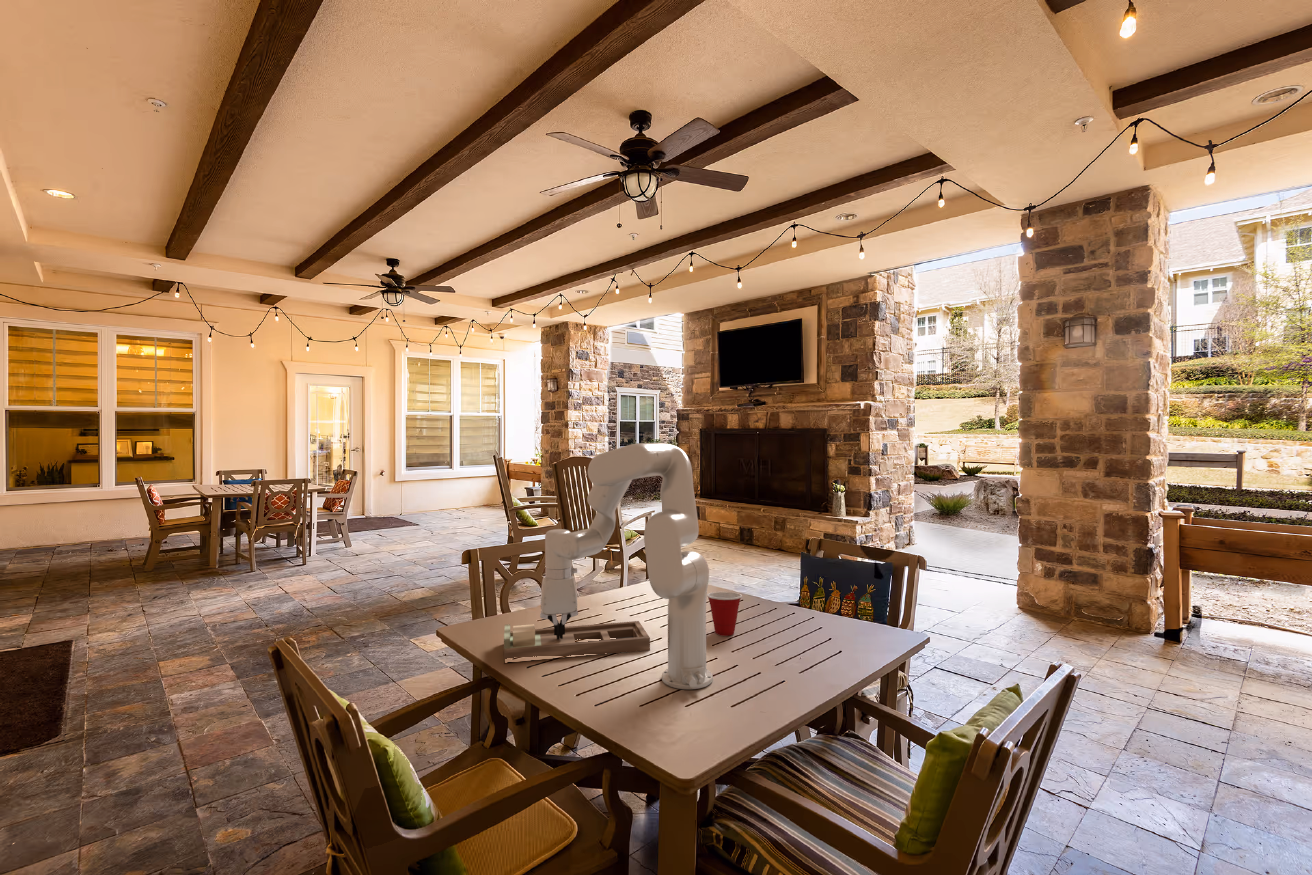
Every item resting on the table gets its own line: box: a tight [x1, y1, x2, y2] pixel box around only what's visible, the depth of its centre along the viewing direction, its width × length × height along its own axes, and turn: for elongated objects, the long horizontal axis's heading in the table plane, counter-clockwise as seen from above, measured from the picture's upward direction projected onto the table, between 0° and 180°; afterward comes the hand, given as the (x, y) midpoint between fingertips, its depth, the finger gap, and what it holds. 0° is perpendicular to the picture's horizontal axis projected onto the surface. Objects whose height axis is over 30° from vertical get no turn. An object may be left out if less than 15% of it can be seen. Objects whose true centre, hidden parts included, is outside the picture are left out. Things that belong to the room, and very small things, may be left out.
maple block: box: [512, 623, 536, 647], centre depth 167 cm, size 6×6×4 cm
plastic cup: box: [706, 591, 743, 637], centre depth 182 cm, size 11×11×12 cm
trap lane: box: [503, 620, 651, 660], centre depth 170 cm, size 16×40×6 cm, turn 103°
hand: (559, 637), depth 169 cm, fingers closed
